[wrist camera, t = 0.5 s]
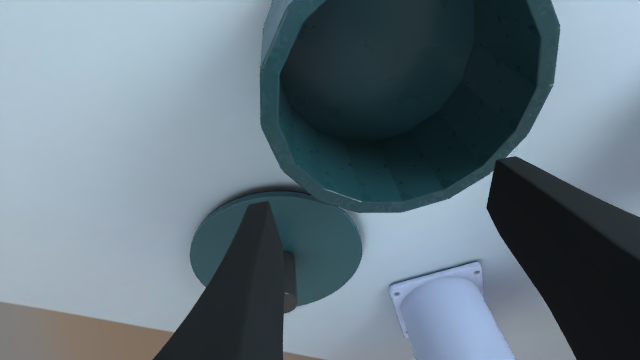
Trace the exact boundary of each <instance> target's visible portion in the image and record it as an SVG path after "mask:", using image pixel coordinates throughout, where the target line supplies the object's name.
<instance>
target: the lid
mask: <svg viewBox="0 0 640 360" xmlns="http://www.w3.org/2000/svg"><path fill="white" fill-rule="evenodd" d="M265 201H269V203H270V206H271V210H272V213H273V216H274V219H275V222H276V225H277V228H278V232H279V235H280V238H281V241H282V244H283V255H284V268H285V288H284V313H288V312H290V311H292V310H293V309H295V308H296V307H297V306H301V305H305V304H308V303H312V302H315V301H317V300H320V299H322V298H324V297H326V296H328V295H330V294H332V293H333V292H335V291H337V290H338V289H339V288H341V287H342V286H343V285H344V284H345V283H346V282H347V281H348V280H349V279H350V278H351V277H352V276H353V274H354V273H355V272H356V270H357V268H358V266H359V263H360V261H361V257H362V242H361V238H360V234H359V231H358V229H357V227H356V225H355V224H354V222H353V221H352V219H351V218H350V217H349V216H348V215H347V214H346V213H345V212H344V211H342V210H341V209H340V208H338V207H337V206H335V205H333V204H330V203H327V202H323V201H320V200H317V199H316V198H315V197H313V196H311V195H308V194H303V193H296V192H284V191H277V192H264V193H257V194H252V195H249V196H245V197H241V198H239V199H236V200H233V201H231V202H229V203H227V204H225V205H223V206H221V207H220V208H218V209H217V210H215V211H214V212H212V213H211V214H210V215H209V216H208V217H207V218H206V219H205V220H204V221H203V222H202V223H201V225H200V226H199V227H198V229H197V231H196V233H195V234H194V237H193V240H192V244H191V249H190V261H191V265H192V268H193V271H194V273H195V275H196V276H197V278H198V279H199V280H200V282H201V283H202V284H203V285H204V286H205V287H207V286H208V284H209V282H210V280H211V279H212V277H213V275H214V274H215V272H216V270H217V268H218V267H219V265H220V263H221V262H222V260H223V258H224V256H225V254H226V252H227V250H228V248H229V246H230V244H231V242H232V240H233V238H234V236H235V234H236V232H237V230H238V228H239V225H240V223H241V221H242V219H243V216H244V214H245V212H246V209H247V207H248V206H249V205H250V204H254V203H259V202H265Z"/></svg>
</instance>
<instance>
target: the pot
mask: <svg viewBox="0 0 640 360" xmlns="http://www.w3.org/2000/svg"><path fill="white" fill-rule="evenodd" d="M559 27H560V24H559V22H558V19H557V16H556V13H555V10H554V7H553V5H552V2H551V0H273V1H272V4H271V8H270V11H269V13H268V16H267V18H266V21H265V23H264V28H263V37H262V50H261V64H260V121H261V128H262V130H263V132H264V134H265V136H266V138H267V141H268V143H269V145H270V147H271V149H272V151H273V153H274V155H275V157H276V159H277V161H278V163H279V165H280V168H281V169H282V170H283V172H285V173H286V174H287V175H288V176H289V177H291V178H292V179H293V180H294V181H295V182H297V183H298V184H299V185H300V186H301V187H303V188H304V189H305V190H306V191H307V192H309V193H310V194H311V195H312V196H313V197H315V198H316V199H317V200H320V201H323V202H327V203H330V204H333V205H336V206H339V207H342V208H345V209H348V210H351V211H354V212H358V213H393V212H402V211H403V212H405V211H408V210H412V209H415V208H419V207H422V206H426V205H429V204H432V203H436V202H439V201H443V200H446V199H447V198H448V199H449V198H451V197H452V196H454V195H456V194H457V193H459V192H461V191H462V190H464V189H466V188H467V187H469V186H471V185H472V184H474V183H476V182H477V181H479V180H480V179H482V178H484V177H485V176H487V175H489V174H490V172H492V171H493V170H494V167H495V162H496V160H498V159H504V158H506V157H507V156H508V155H509V154H510V153H511V152H512V150H513V149H514V148H515V147H516V146H517V145H518V144H519V143H520V142H521V141H522V140H523V139H524V138H525V137H526V136H527V134H528V133H529V132H530V130H531V128H532V126H533V124H534V122H535V120H536V118H537V116H538V114H539V112H540V110H541V108H542V106H543V104H544V102H545V100H546V98H547V97H548V95H549V93H550V91H551V89H552V87H553V83H554V76H555V68H556V60H557V51H558V43H559V35H560V28H559Z"/></svg>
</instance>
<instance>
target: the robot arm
mask: <svg viewBox="0 0 640 360" xmlns="http://www.w3.org/2000/svg"><path fill="white" fill-rule="evenodd" d="M487 210H488V212H489V214H490V216H491V218H492V220H493V223H494V224H495V226H496V228H497V230H498V232H499V234H500V236H501V237H502V239H503V240H504V242H505V243H506V245H507V246H508V248H509V249H510V251H511V252H512V254H513V255H514V257H515V258H516V259H517V261H518V262H519V264H520V265H521V267H522V268H523V270H524V271H525V273H526V274H527V275H528V277H529V278H530V280H531V281H532V283H533V284H534V286H535V287H536V288H537V290H538V291H539V293H540V294H541V296H542V297H543V299H544V301H545V302H546V304H547V305H548V307H549V309H550V310H551V312H552V314H553V316H554V318H555V319H556V321H557V323H558V325H559V327H560V329H561V330H562V332H563V334H564V336H565V338H566V340H567V342H568V344H569V346H570V347H571V349H572V351H573V353H574V355H575V357H576V359H577V360H640V217H638V216H636V215H633V214H631V213H629V212H626V211H624V210H622V209H620V208H618V207H615V206H613V205H611V204H609V203H607V202H605V201H602V200H600V199H598V198H596V197H594V196H592V195H590V194H588V193H586V192H584V191H582V190H580V189H578V188H576V187H574V186H572V185H570V184H568V183H566V182H565V181H563V180H561V179H559V178H557V177H555V176H553V175H551V174H549V173H547V172H546V171H544V170H542V169H540V168H538V167H536V166H534V165H532V164H530V163H528V162H526V161H524V160H522V159H520V158H518V157H516V156H515V157H509V158H504V159H498V160H496V162H495V167H494V172H493V177H492V182H491V187H490V192H489V197H488V203H487ZM284 288H285V268H284V255H283V244H282V241H281V238H280V235H279V232H278V228H277V225H276V222H275V219H274V216H273V213H272V210H271V206H270V203H269V201H265V202H259V203H254V204H250V205H249V206H248V207H247V209H246V212H245V214H244V216H243V219H242V221H241V223H240V225H239V228H238V230H237V232H236V234H235V236H234V238H233V240H232V242H231V244H230V246H229V248H228V250H227V252H226V254H225V256H224V258H223V260H222V262H221V263H220V265H219V267H218V268H217V270H216V272H215V274H214V275H213V277H212V279H211V280H210V282H209V284H208V286H207V287H206V289H205V290H204V292H203V293H202V295H201V297H200V298H199V300H198V301H197V303H196V304H195V305H194V307H193V308H192V310H191V311H190V313H189V314H188V315H187V317H186V318H185V320H184V321H183V322H182V324H181V325H180V326H179V327H178V329H177V330H176V331H175V333H174V334H173V336H172V337H171V338H170V340H169V341H168V342H167V343H166V344H165V346H164V347H163V348H162V349H161V351H160V352H159V353H158V354H157V355H156V356H155V358H154V359H153V360H283V317H284ZM389 290H390V293H391V296H392V300H393V303H394V306H395V309H396V312H397V315H398V318H399V321H400V324H401V327H402V331H403V334H404V337H405V338H406V339H410V342H411V345H412V349H413V352H414V355H415V358H416V360H516V359H515V357H514V355H513V353H512V352H511V350H510V348H509V346H508V344H507V342H506V340H505V338H504V336H503V335H502V333H501V331H500V329H499V327H498V325H497V323H496V321H495V319H494V318H493V316H492V314H491V312H490V310H489V308H488V306H487V304H486V302H485V301H484V299H483V287H482V266H481V264H480V263H479V262H474V263H470V264H466V265H463V266H459V267H455V268H452V269H448V270H444V271H441V272H437V273H433V274H430V275H426V276H422V277H418V278H415V279H411V280H407V281H404V282H400V283H396V284H393V285H391V286H390V287H389Z"/></svg>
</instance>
